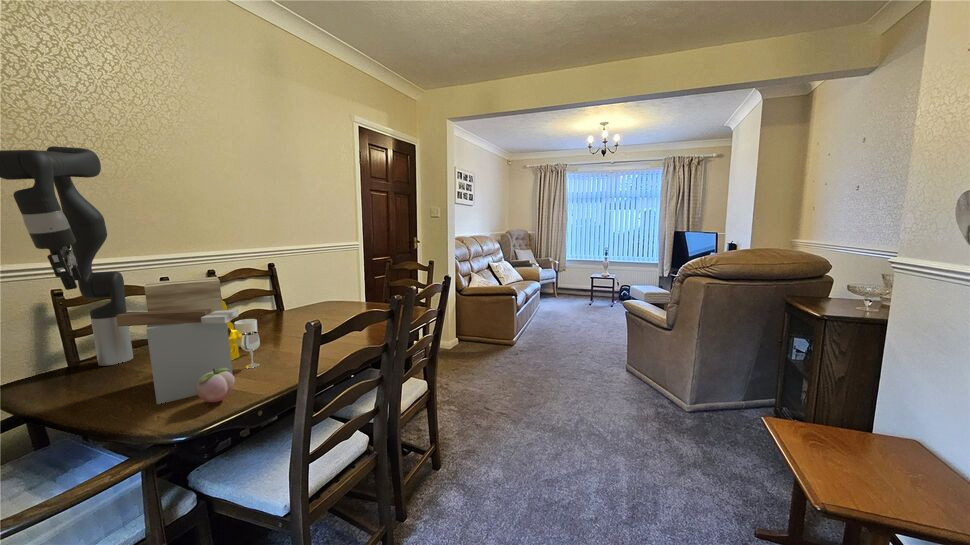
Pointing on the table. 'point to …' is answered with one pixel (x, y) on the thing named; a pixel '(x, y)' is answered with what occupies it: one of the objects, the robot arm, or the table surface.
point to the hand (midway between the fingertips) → (74, 284)
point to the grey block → (185, 356)
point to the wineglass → (250, 345)
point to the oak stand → (184, 294)
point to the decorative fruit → (215, 385)
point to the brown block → (176, 317)
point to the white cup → (245, 327)
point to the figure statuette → (232, 337)
